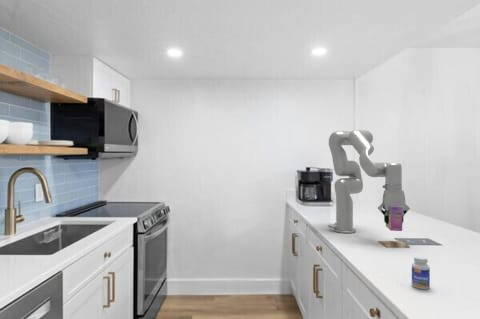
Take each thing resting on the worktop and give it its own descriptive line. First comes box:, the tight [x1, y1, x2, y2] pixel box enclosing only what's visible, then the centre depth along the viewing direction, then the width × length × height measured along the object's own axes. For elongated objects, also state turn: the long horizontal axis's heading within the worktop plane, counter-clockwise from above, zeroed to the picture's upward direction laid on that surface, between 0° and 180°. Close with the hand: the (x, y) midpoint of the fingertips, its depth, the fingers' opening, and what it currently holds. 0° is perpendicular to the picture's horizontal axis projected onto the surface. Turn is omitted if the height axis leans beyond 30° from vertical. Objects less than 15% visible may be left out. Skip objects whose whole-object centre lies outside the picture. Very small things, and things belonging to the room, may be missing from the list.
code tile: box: [393, 237, 443, 246], centre depth 178 cm, size 18×14×1 cm
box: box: [385, 206, 403, 232], centre depth 171 cm, size 10×6×12 cm, turn 169°
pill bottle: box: [411, 255, 431, 290], centre depth 115 cm, size 5×5×10 cm
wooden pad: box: [378, 240, 411, 249], centre depth 172 cm, size 11×11×1 cm
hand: (393, 223), depth 171 cm, fingers closed on box, 6 cm apart
